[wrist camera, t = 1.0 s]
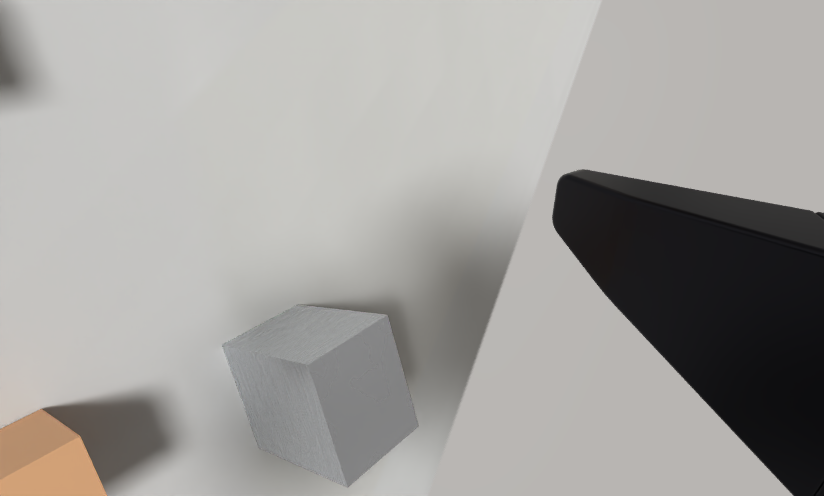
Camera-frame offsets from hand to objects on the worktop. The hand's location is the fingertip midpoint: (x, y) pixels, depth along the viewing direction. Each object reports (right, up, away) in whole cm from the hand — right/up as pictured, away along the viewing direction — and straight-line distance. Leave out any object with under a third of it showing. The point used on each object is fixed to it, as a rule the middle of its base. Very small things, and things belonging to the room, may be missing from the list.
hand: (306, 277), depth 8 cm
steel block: (-4, -5, +18) cm, 19 cm away
